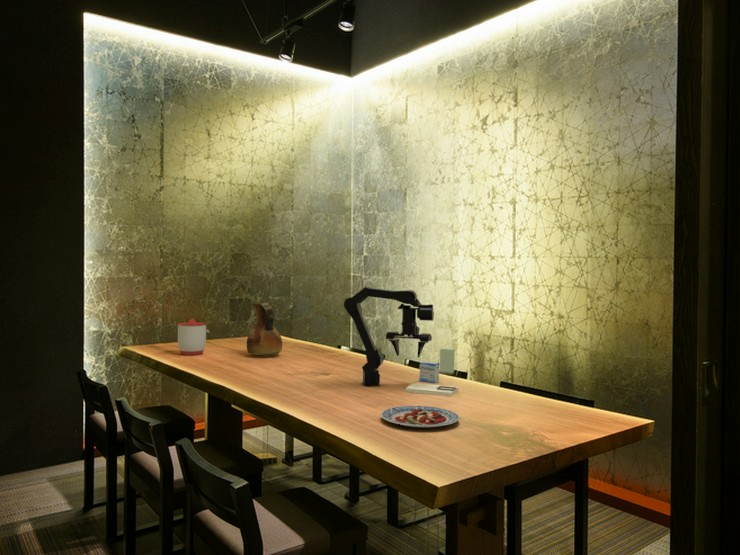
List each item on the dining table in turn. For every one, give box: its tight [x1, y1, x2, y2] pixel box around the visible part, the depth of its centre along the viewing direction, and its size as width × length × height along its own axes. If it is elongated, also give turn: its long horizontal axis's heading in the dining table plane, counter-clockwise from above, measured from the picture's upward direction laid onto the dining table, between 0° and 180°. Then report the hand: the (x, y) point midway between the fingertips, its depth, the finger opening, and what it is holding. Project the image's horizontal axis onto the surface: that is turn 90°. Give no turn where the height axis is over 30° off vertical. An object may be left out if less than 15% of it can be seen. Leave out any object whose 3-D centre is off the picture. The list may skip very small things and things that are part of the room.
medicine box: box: [418, 360, 440, 384], centre depth 258 cm, size 8×4×9 cm, turn 62°
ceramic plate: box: [380, 405, 460, 429], centre depth 191 cm, size 26×26×3 cm
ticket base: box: [405, 382, 459, 397], centre depth 238 cm, size 19×12×2 cm, turn 68°
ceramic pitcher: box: [246, 302, 283, 356], centre depth 322 cm, size 20×20×30 cm
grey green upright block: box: [439, 347, 455, 375], centre depth 235 cm, size 5×4×10 cm
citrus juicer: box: [177, 318, 210, 356], centre depth 323 cm, size 16×17×20 cm
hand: (408, 356), depth 244 cm, fingers open, 9 cm apart
